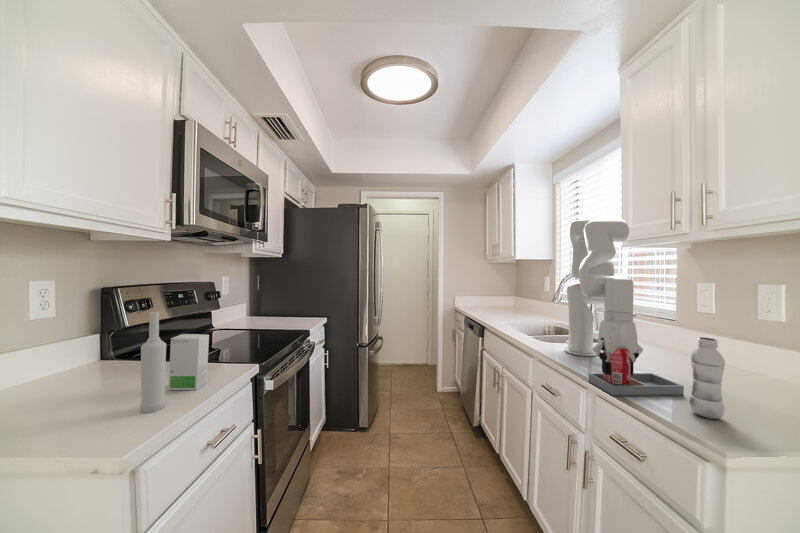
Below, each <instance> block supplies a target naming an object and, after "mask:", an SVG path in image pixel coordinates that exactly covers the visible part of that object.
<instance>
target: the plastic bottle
mask: <svg viewBox="0 0 800 533" xmlns="http://www.w3.org/2000/svg"><path fill="white" fill-rule="evenodd" d="M696 344H697V346H698V347H697V348H696V349H695V350H694V351H693V352H692V353H691V355H690V363H691V370H692V377H693V378H692V390H691V394H690V397H689V406H690V409H691V411H692V412H693V413H695V414H696V415H698V416H699V417H700V416H701V417H703V418H706V419H711V420H712V419H713V420H720V419H721V418H723V417H724V415H725V411H726V410H725V404H724V401H723V393H722V392H723V391H722V387H723V386H722V385H723V384H722V383H723V375H724V370H725V365H726V360H725V358H724V357H723V356H722V354H721V353H720V352H719V351H718V350H717V348H719V345H718V339H715V338H709V337H701V336H700V337H697V343H696Z"/></svg>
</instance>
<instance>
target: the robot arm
mask: <svg viewBox="0 0 800 533" xmlns="http://www.w3.org/2000/svg"><path fill="white" fill-rule="evenodd" d="M567 230H568V231H567V233H568V239H569V241H570V244H571V249H572V250H571V251H572V252H571V253H572V254H571V275H572V277H573V278H574V279H577V280H579V281H578V282H577V281H574V282H572V283H570V284H568V285H567V288H566V296H567V301H568V302H567V303H568V340H565V343H566V344H567V346H566V347H564V351H565V353H567V354H570V355H575V356H581V357H595V356H597V357H598V358H599V359H600V360H601V372H602V373H605V374H607V375H611V363H610V362H609V361H610V354H612V353H613V352H614V351H615V350H616V349H617V347H628V348H627V349H628V350H629V351H630V375H633V373H634V363H636V361H637V359H638V358H639V356H640V355H641V354H642V353H643V351H644V349H643V347H642V346H641V345H639V343H638V333H637V326H636V323H635V321H634V318H636V317H637V316H636V313H634V294H635V293H634V292H635V291H634V287H635V285H634V283H635V282H634V281H633V279H631V278H630V277H629V278H628V277H625V276H624V277H623V276H617V275H615V266H614V264H613V261H612V259H614V257H616V255H617V254H616V253H617V252H616V248H615V244H614V243H615V242H621V243H622V242H625V241H626V240H628V238H629V235H630V228H629V225H628V223H627V221H625V220H624V219H619V218H580V219H576V220H573V221H571V222H570V223H569V225H568V229H567ZM588 305H603V319H600V320H601V321H600V323H599V328H598V336H597V343H596V345H595V346H594V313H593V311H592V309H590V308H589V306H588ZM605 348H606V351H605ZM604 353H608V354H607V356H605V355H604Z"/></svg>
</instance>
